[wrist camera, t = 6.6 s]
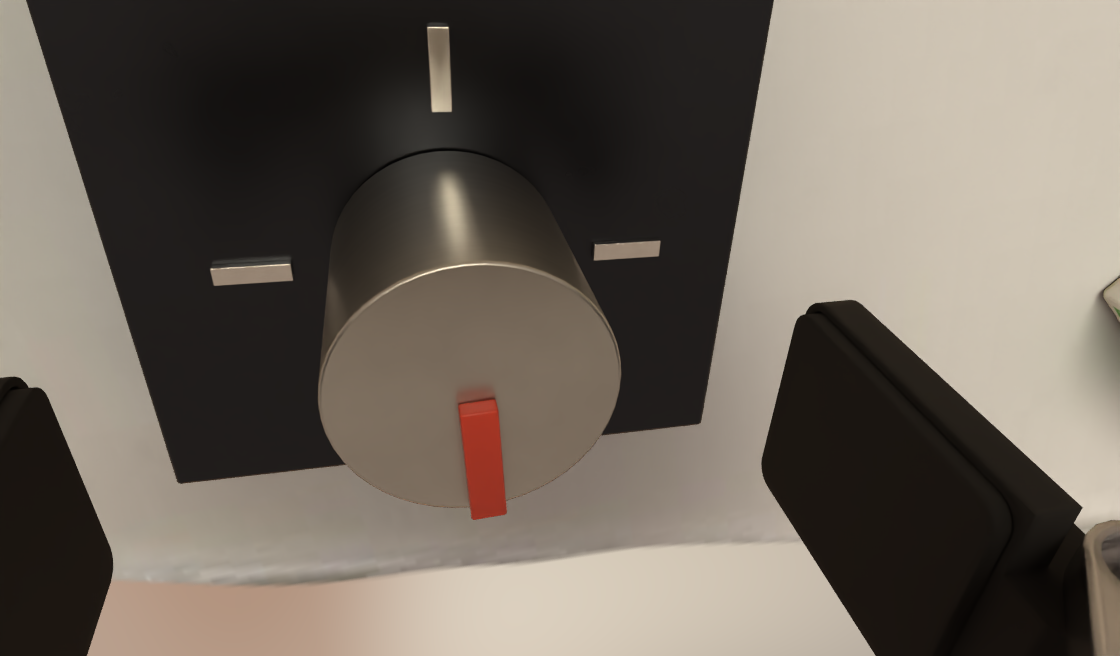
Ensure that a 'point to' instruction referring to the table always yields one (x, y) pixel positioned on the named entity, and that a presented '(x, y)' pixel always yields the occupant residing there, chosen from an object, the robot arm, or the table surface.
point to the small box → (1113, 297)
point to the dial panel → (373, 144)
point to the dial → (460, 337)
